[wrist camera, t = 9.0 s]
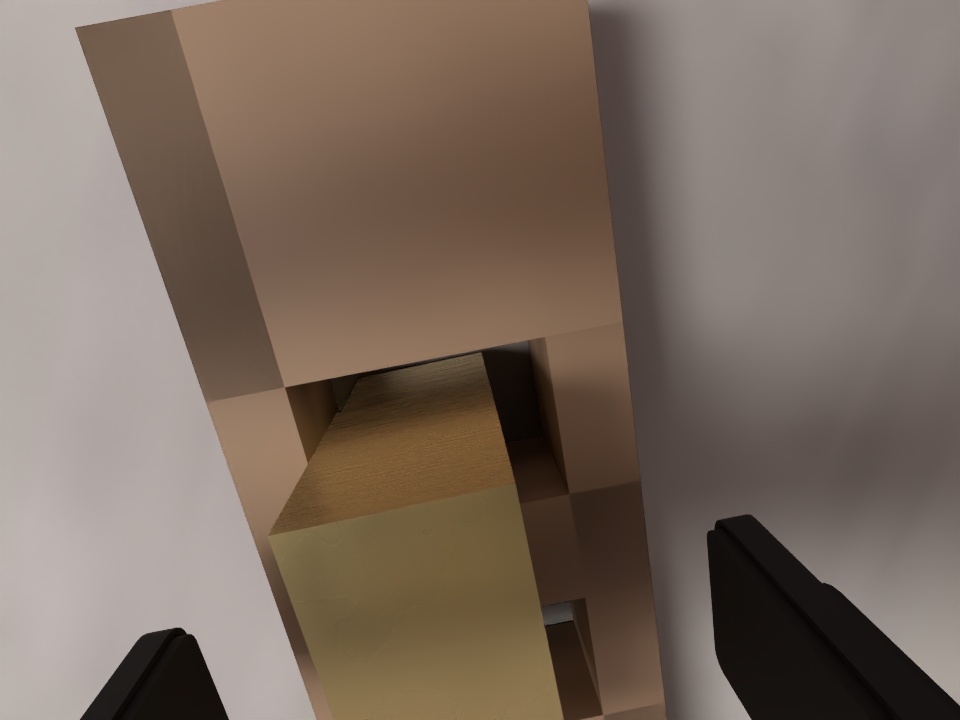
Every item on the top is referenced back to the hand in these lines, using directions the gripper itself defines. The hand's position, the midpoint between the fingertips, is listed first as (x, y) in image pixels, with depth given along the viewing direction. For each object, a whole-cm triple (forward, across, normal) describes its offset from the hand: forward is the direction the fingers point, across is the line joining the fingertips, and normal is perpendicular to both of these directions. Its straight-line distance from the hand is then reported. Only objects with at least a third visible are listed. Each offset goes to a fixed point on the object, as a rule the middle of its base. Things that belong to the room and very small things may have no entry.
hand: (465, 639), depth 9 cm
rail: (+5, 0, 0) cm, 5 cm away
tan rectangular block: (+4, 0, 0) cm, 4 cm away
